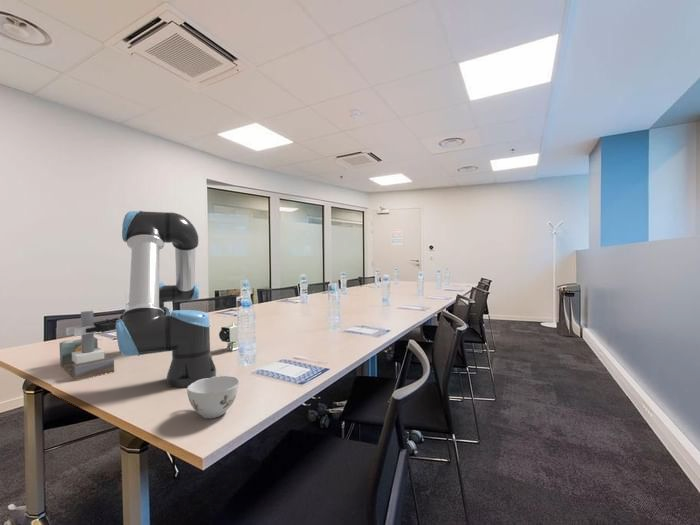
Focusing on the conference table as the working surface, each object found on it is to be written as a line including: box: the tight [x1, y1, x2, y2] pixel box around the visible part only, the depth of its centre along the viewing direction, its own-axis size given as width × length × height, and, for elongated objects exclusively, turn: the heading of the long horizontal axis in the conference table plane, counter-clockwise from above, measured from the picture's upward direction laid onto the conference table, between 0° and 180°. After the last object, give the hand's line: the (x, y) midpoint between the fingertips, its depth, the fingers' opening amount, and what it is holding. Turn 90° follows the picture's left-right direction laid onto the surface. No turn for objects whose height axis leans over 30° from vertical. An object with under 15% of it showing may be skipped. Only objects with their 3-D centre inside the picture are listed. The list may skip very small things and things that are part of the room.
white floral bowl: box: [186, 375, 240, 419], centre depth 86 cm, size 15×12×8 cm
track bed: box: [59, 336, 115, 382], centre depth 123 cm, size 27×11×9 cm, turn 50°
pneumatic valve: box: [218, 322, 239, 352], centre depth 146 cm, size 6×12×12 cm, turn 150°
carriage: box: [72, 310, 105, 364], centre depth 121 cm, size 8×8×20 cm
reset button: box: [75, 345, 82, 352], centre depth 129 cm, size 7×4×4 cm, turn 50°
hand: (70, 332), depth 116 cm, fingers closed on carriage, 4 cm apart
